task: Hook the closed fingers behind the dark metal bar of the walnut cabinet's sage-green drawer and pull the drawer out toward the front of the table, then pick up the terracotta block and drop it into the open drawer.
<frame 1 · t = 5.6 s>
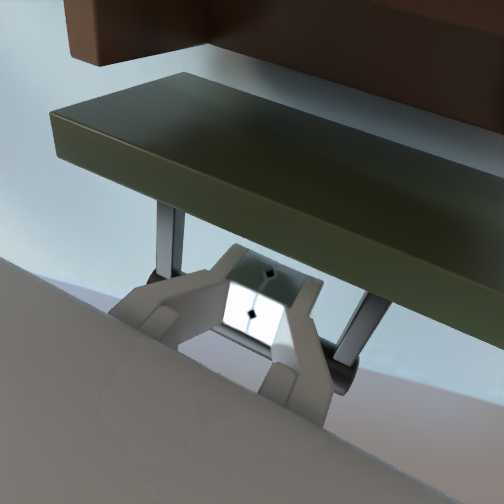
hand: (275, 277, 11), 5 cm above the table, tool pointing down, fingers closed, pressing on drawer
drawer: (351, 10, 7), point 4 cm above the table, slide at 3.5 cm, touching gripper
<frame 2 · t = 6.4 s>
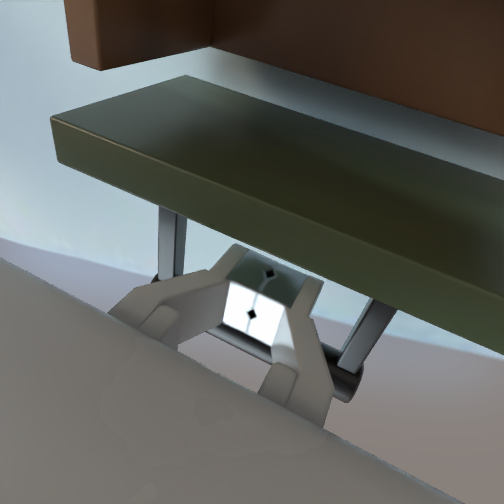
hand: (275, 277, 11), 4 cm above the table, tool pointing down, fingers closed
drawer: (356, 12, 7), point 4 cm above the table, slide at 6.6 cm
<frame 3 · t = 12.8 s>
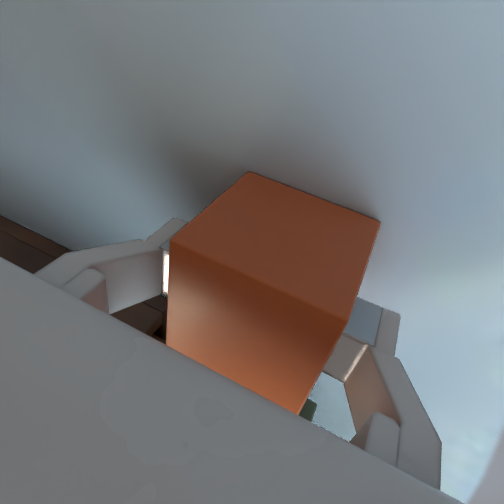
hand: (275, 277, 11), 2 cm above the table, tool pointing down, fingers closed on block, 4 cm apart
block: (294, 248, 13), on the table, touching gripper
drawer: (184, 467, 18), point 4 cm above the table, slide at 6.6 cm
cabinet: (71, 319, 23), on the table
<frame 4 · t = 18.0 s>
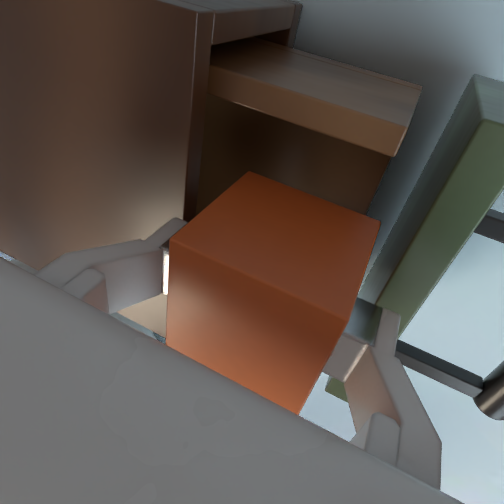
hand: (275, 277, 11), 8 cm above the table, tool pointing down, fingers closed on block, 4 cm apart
cereal bowl: (112, 309, 33), on the table
block: (294, 248, 13), point 6 cm above the table, touching gripper
drawer: (312, 218, 14), point 4 cm above the table, slide at 6.6 cm
cabinet: (145, 111, 19), on the table
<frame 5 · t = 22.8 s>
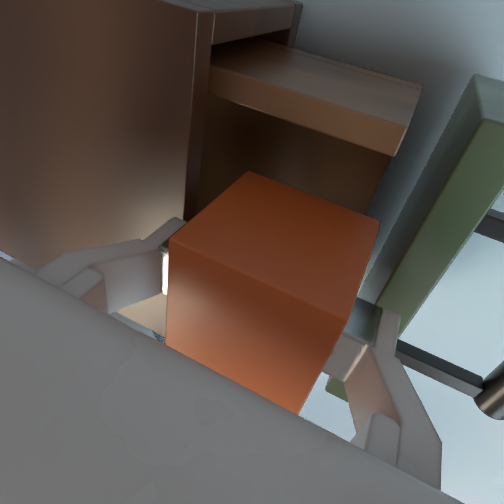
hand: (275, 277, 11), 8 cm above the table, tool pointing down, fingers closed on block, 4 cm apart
cereal bowl: (112, 309, 33), on the table
block: (294, 248, 13), point 6 cm above the table, touching gripper
drawer: (312, 218, 14), point 4 cm above the table, slide at 6.6 cm
cabinet: (146, 110, 19), on the table
when the fingers open (8 cm above the table, at t = 27.3 s): block drops 4 cm, resting on drawer.
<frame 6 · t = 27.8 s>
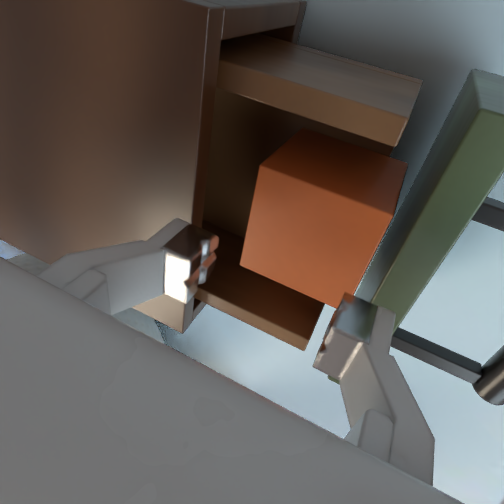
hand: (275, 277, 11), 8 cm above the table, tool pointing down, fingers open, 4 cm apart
cereal bowl: (117, 305, 33), on the table
block: (336, 192, 16), point 2 cm above the table, touching drawer
drawer: (315, 209, 15), point 4 cm above the table, slide at 6.5 cm, touching block
cabinet: (152, 107, 20), on the table
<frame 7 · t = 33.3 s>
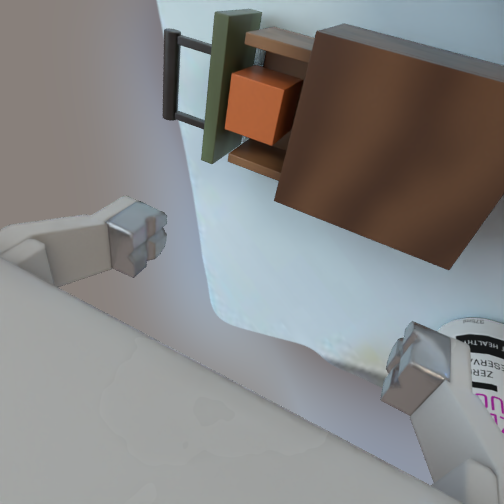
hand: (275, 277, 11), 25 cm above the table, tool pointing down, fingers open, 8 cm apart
supplement can: (476, 341, 39), on the table
block: (273, 98, 32), point 2 cm above the table, touching drawer
drawer: (269, 103, 30), point 4 cm above the table, slide at 6.5 cm, touching block
cabinet: (401, 131, 31), on the table
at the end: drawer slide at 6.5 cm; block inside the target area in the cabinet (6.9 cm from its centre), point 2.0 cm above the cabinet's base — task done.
